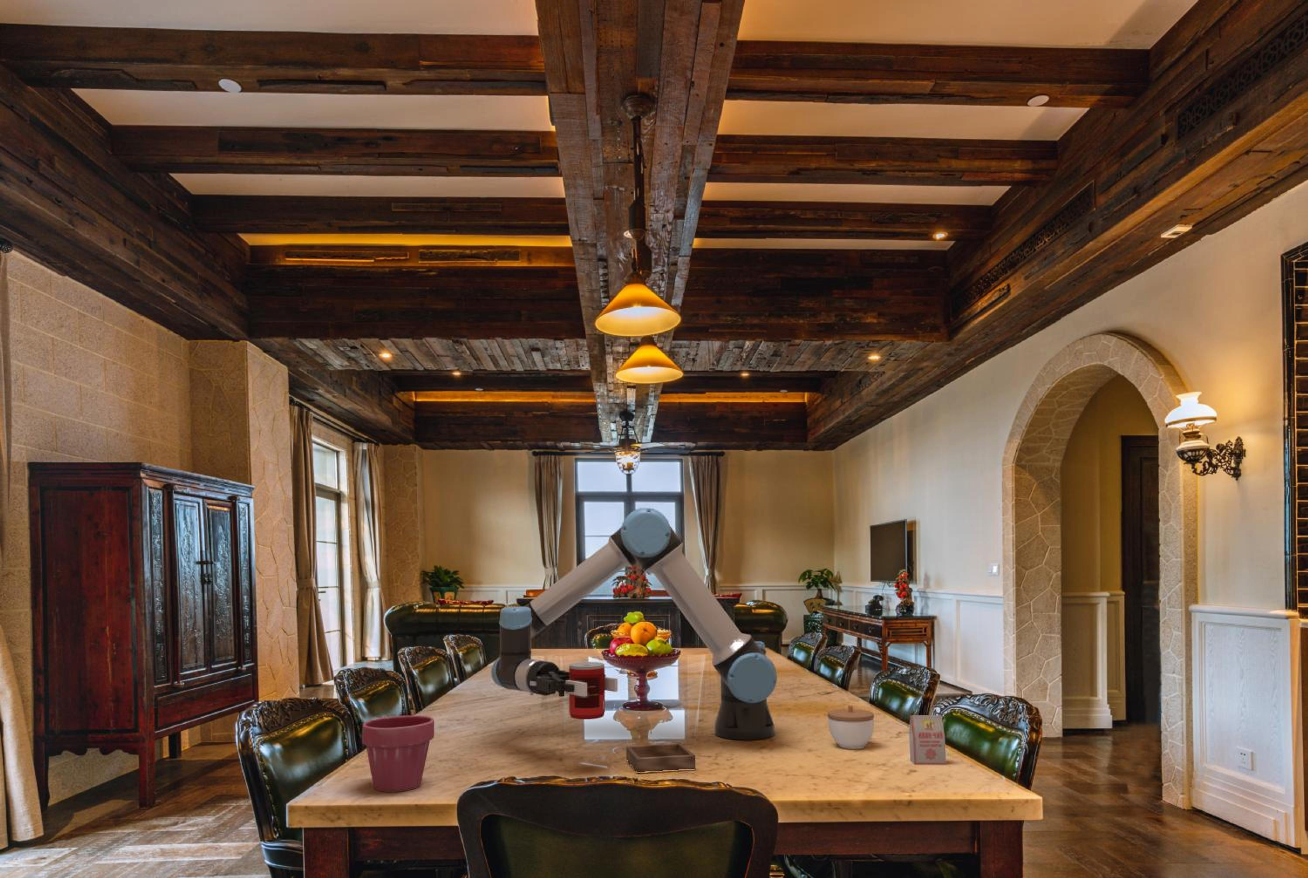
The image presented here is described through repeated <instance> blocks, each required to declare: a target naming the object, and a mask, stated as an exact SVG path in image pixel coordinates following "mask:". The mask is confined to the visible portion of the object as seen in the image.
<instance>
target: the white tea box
mask: <svg viewBox="0 0 1308 878" xmlns="http://www.w3.org/2000/svg"><path fill="white" fill-rule="evenodd" d="M908 735H909V739H908V741H909V757H910V758H909V761H910V762H911V764H913V765H915V766H917V765H919V766H920V765H921V766H923V765H926V766H929V765H930V766H931V765H933V766H936V765H937V766H944V765H947V758H946V757H947V756H946V752H947V751H946V735H945V729H944V724H943V716H942V715H939V714H938V715H936V714H935V715H934V714H929V715H927V714H926V715H925V714H924V715H923V714H922V715H919V714H917V715H916V714H913V715H909V731H908Z"/></svg>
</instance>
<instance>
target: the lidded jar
mask: <svg viewBox="0 0 1308 878" xmlns="http://www.w3.org/2000/svg"><path fill="white" fill-rule="evenodd" d="M853 707H854V706H853V705H852V704H851V705H850V704H849V705H847V708H837V709H831V710H829V711H828V712H827V718H828V719H827V720H828V729H829V732H830V735H831V737H832V739H833V740H834V742H836V744H837V745H838V747H839V748H841V749H846V750H861V749H864V748H866V745H867V744H868V743H870V741H871V740H872V737H873V733H874V725H875V722H874V718H875V714H874V712H873V711H870V710H868V709H867V710H866V709H860V708H853Z"/></svg>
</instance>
